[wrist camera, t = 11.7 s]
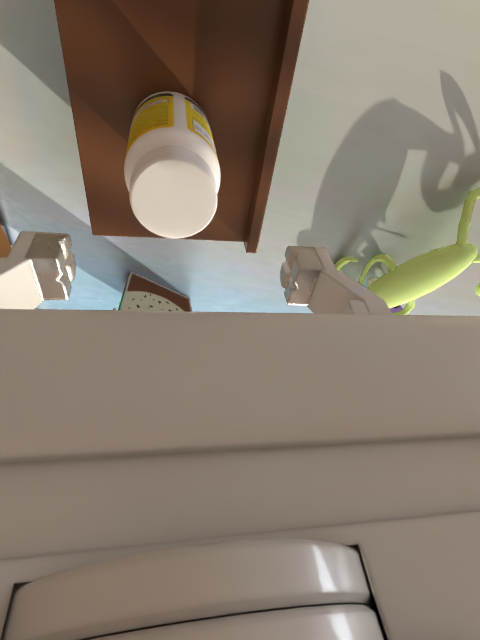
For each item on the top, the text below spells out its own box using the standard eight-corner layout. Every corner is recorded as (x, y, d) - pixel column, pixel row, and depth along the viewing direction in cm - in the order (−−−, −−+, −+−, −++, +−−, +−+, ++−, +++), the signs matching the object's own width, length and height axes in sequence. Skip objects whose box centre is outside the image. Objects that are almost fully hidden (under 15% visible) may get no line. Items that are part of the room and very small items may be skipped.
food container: (100, 295, 51) (89, 350, 44) (120, 266, 48) (112, 320, 41) (176, 326, 58) (177, 378, 51) (198, 301, 55) (202, 354, 48)
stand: (93, -80, 26) (28, -97, 14) (254, -47, 29) (317, -37, 17) (114, 147, 38) (89, 247, 25) (229, 158, 40) (256, 253, 28)
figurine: (517, 257, 57) (542, 280, 53) (356, 332, 65) (368, 356, 61) (515, 159, 45) (548, 180, 41) (317, 265, 53) (329, 291, 49)
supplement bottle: (127, 161, 23) (113, 235, 17) (136, 77, 20) (124, 133, 14) (200, 179, 25) (211, 253, 19) (220, 104, 22) (239, 165, 16)
